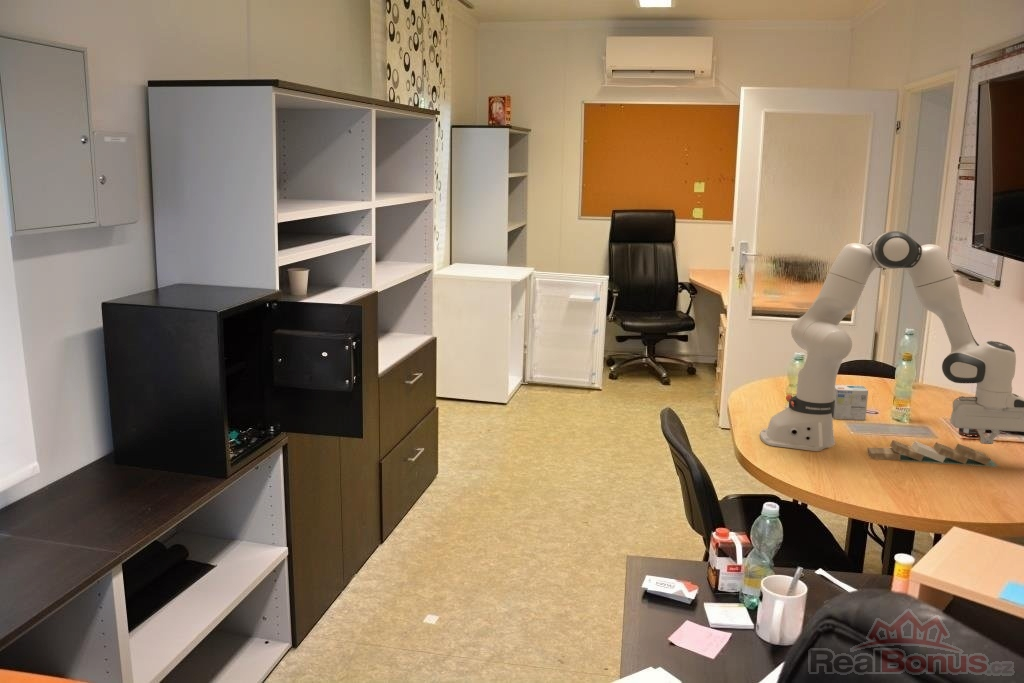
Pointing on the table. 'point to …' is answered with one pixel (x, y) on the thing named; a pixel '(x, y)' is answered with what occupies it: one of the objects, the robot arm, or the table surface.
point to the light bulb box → (850, 402)
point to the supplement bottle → (968, 431)
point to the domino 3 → (927, 451)
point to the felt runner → (946, 461)
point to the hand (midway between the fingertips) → (986, 443)
